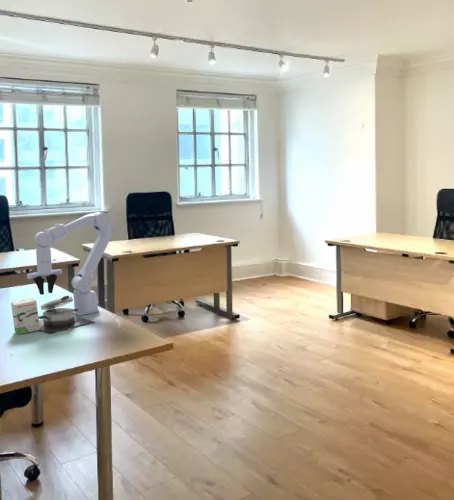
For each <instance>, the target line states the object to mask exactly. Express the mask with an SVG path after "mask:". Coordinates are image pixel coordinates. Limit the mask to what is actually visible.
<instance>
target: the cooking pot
mask: <svg viewBox="0 0 454 500" xmlns="http://www.w3.org/2000/svg"><path fill="white" fill-rule="evenodd" d="M75 311H78V309H77V308H71V307H57V308H54V309H50V310H43V312H42V315H40V316H39V315H38V317H39V325H40V330H38V331H40V332H42V333H46V334H49V335H50V334H56V333H57V332H58V333H59V332H62V331H67V330H70V329H75V328H79V327H82V326H86V325H90V324H94V323H95V320H91V319H88V318H84V317H81V316H79V315H76V314H74V312H75Z"/></svg>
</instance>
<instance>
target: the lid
mask: <svg viewBox="0 0 454 500" xmlns="http://www.w3.org/2000/svg"><path fill="white" fill-rule="evenodd" d="M72 302H74V298H73V297H72V296H70V295H64V296H63V297H61V298H58V299H54V300H52V301H48V302H45V303H43V304H42V305H40V309H41V311H47V310H50V309H56V308H61V307H63V306H66V305H68V304H69V303H72Z"/></svg>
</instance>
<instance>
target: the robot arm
mask: <svg viewBox="0 0 454 500" xmlns="http://www.w3.org/2000/svg"><path fill="white" fill-rule="evenodd" d="M111 219H112V218H111V217H110V215H109V214H108V213H105V212H100V211H95V212H92V213H88V214H86V215H83V216H81V217H79V218H78V219H77V218H76V219H75V220H73V221H70V222H69V223H67V224H63V223H55V224H54V226H52V227H50V228H45V229H44V230H43V231H39V232H37V233H36V234H35V236H34V238H33V242H34V243H35V244H36V245H35V246H36V247H35V248H36V249H35V254H36V257H35V258H36V269H37V271H35V272H30V273H27V274H26V277H27V280H33V281H34V283H35V284H36V288H37V289H38V292H39V295H41V296H43V295H44V294H45V291H44V287H45V286H44V285H45V283H44V282H45V278H46V282H47V292H48V294H53V290H54V286H55V283H56V281H57V279H58V276H57V275H63V269H60V268H59V269H53V267H52V253H51V244H52V243H54V242H57V241H60V240H62V239H64V238H66V237H67V236H68V235H69V233H70V232H72V231H76V230H77V229H79V228H80V229H81V228H83V227H86V226H93V227H94V229H95V231H96V233H97V238H96V240H95V242H94V243H93V246H92V247H91V249H90V252H89V253H88V256H87V258H86V259H85V262H84V264H83V266H82V268H80V270H78V272H77V274H76V275H75V276H74V277H72V279H71V287H72V288H73V289H74V290H73V292H72V294H73V307H74V308H77V309H78V311H75V312H74V315H76V316H84V315H87V314H93V313H97V312H100V310H99V304H98V301H99V300H98V295H97V292H96V291H95V290H91V289H92V283H93V281H94V273H95V271H96V269H97V267H98V265H99V263H100V261H101V259H102V257H103V254H104V253H105V251H106V249H107V247H108V245H109V243H110V241H111V239H112V236H113V235H112V224H113V221H112V220H111ZM43 277H44V278H43ZM74 308H73V309H74Z"/></svg>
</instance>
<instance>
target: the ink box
mask: <svg viewBox="0 0 454 500" xmlns="http://www.w3.org/2000/svg"><path fill="white" fill-rule="evenodd" d="M10 305H11V313H12V320H13V326H14V327H13V328H14V333H15V334H17V335H22V334H26V333H32V332H36V331H39V330H40V325H39V320H40V319H39V311H38V304H37V300H36V299H35V298H32V297H31V298H28V299H27V298H25V299H21V300H15V301H11V303H10Z"/></svg>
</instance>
